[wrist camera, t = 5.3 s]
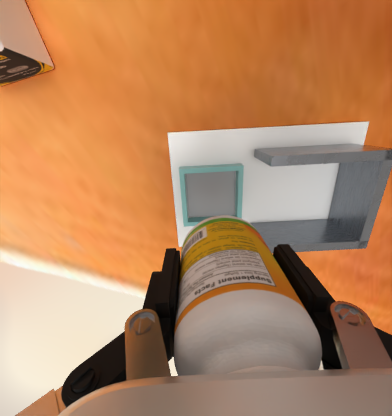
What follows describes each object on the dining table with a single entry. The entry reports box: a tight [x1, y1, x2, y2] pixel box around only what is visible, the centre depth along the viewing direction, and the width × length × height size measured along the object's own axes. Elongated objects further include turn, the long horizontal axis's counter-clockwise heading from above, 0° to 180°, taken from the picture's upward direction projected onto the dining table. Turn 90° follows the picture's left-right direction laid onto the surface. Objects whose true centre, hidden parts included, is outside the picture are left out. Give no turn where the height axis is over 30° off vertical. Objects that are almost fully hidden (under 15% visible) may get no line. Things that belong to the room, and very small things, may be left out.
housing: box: [250, 143, 392, 253], centre depth 25 cm, size 12×11×6 cm
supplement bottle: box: [174, 215, 322, 376], centre depth 9 cm, size 5×5×10 cm
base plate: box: [168, 122, 369, 247], centre depth 27 cm, size 24×16×3 cm, turn 93°
